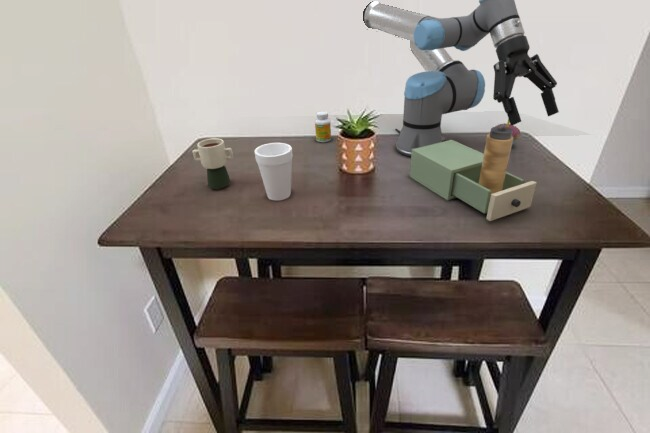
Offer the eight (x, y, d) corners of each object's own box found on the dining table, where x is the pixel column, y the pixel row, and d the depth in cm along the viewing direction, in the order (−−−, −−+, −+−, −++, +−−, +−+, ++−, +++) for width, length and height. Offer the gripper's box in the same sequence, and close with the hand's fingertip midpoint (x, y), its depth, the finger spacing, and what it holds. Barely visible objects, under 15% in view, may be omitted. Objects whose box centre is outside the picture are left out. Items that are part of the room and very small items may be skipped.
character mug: (240, 179, 112) (233, 136, 106) (236, 190, 106) (228, 146, 99) (204, 181, 112) (194, 139, 106) (197, 192, 106) (186, 148, 100)
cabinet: (488, 187, 101) (494, 158, 96) (447, 200, 96) (451, 170, 92) (448, 166, 113) (451, 139, 109) (409, 176, 108) (411, 149, 104)
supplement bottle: (316, 143, 134) (314, 115, 129) (316, 137, 139) (314, 111, 134) (331, 142, 134) (330, 115, 129) (331, 136, 139) (329, 110, 134)
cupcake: (519, 151, 120) (528, 113, 113) (490, 150, 121) (498, 113, 115) (513, 141, 127) (521, 105, 120) (486, 140, 128) (493, 105, 122)
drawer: (534, 209, 89) (541, 184, 85) (494, 223, 84) (499, 198, 81) (483, 182, 101) (487, 160, 98) (446, 194, 97) (449, 171, 93)
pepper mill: (471, 194, 94) (483, 124, 84) (488, 189, 95) (501, 119, 86) (488, 204, 89) (503, 130, 80) (505, 198, 91) (521, 126, 82)
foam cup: (268, 206, 98) (261, 159, 91) (256, 192, 105) (249, 147, 98) (302, 197, 101) (297, 151, 94) (288, 183, 108) (283, 140, 101)
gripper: (484, 38, 92) (511, 122, 91) (555, 28, 100) (581, 105, 100) (463, 55, 99) (488, 132, 98) (532, 44, 108) (555, 115, 107)
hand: (535, 119), depth 99 cm, fingers open, 13 cm apart
